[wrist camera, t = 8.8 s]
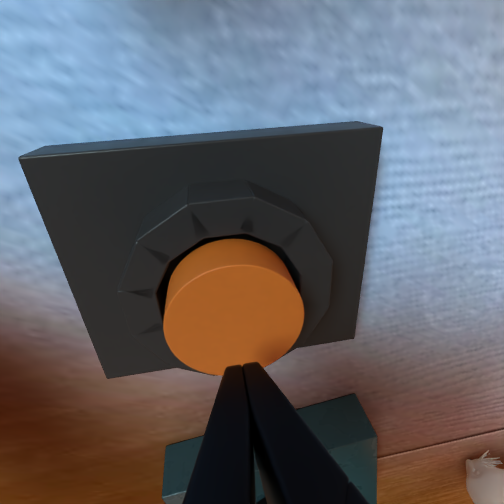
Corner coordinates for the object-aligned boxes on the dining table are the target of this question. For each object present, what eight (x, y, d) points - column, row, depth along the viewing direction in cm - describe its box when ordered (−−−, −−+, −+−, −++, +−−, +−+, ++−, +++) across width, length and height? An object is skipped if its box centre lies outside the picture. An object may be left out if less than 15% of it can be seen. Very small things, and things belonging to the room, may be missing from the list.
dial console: (205, 513, 25) (207, 565, 23) (165, 445, 20) (160, 501, 18) (358, 469, 26) (378, 514, 23) (355, 393, 21) (379, 439, 18)
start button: (178, 347, 12) (176, 386, 11) (155, 246, 10) (148, 276, 8) (289, 330, 13) (303, 364, 11) (290, 230, 10) (306, 255, 9)
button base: (115, 347, 16) (94, 420, 13) (43, 145, 11) (-24, 172, 8) (338, 313, 17) (374, 370, 14) (358, 120, 13) (419, 134, 9)
